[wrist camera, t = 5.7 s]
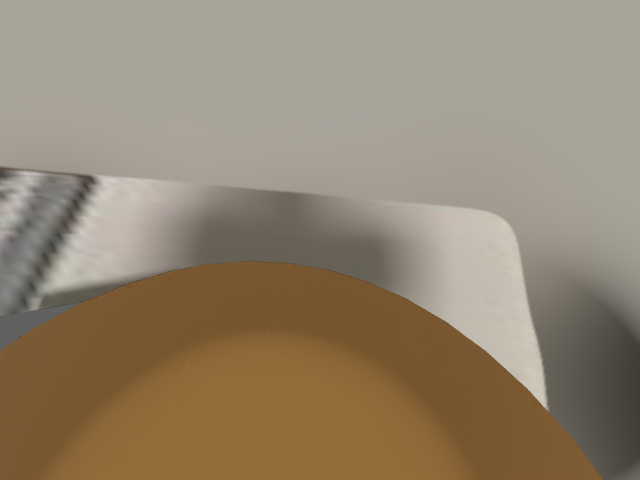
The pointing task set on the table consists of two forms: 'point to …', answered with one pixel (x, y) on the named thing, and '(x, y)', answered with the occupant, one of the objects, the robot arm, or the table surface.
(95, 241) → the table surface
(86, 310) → the grey and gold cylinder
